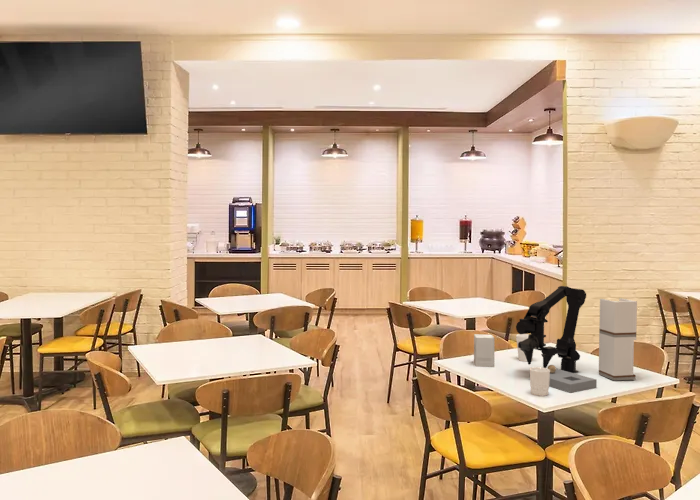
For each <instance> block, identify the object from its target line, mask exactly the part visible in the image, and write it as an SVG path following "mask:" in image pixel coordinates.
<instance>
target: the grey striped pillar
mask: <svg viewBox="0 0 700 500" xmlns="http://www.w3.org/2000/svg"><path fill="white" fill-rule="evenodd" d="M637 320H638V300H633V299H632V300H631V299H627V298H622V297H621V298H620V297H619V299H618V300H610V299H605V298H599V326H598V327H599V330H598V333H599V334H598V375H600V376H602V377H605V378H607V379H609V380H612V381H631V380H633V381H634V380H636V378H637V377H636V374H634V363H635V362H634V358H635V357H634V356H635V355H634V354H635V353H634V352H635V351H634V350H635V348H634V347H635V341H637V328H638V327H637V325H638V324H637V323H638V322H637Z"/></svg>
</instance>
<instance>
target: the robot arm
mask: <svg viewBox="0 0 700 500" xmlns="http://www.w3.org/2000/svg"><path fill="white" fill-rule="evenodd" d="M565 297H566V298H565ZM564 298H565V299H566V303H567V306H568V307H567V313H566V319H565V322H564V327H563V333H562V336H561V337H560V338H557V339H556V343H555V344H556V345H555V347H554V346H550V345H549V346H547V345H546V343H545V338H547V335H546V334H545V323H548V322H549V321H548V320H547V318H546V317H547V316H548V315H549V313H550V311H551V308H552V307H554V306H555V305H556V304H558V303H559V302H561V300H563V299H564ZM586 298H587V293H586V290H584V289H582V288H573V287H569V286H565V285H559V286H558V287H557V288H556V289H555V290H553V292H552V293H550V294H549V295H548V296H547V297H545V298H544V299H543V300H540V301H537V302H534V303H532V304H531V305H530V306H529V307H528V309H527V311H526V313H525V316H524V317H523V318H519V320H518V322H517V323H516V325H515V329H516V333H518V334H529V335H528V339H525V340H524V341H520V342H519V343H518V348H521V349H520V350H522V351H523V352H524V353H525V356H526V359H527V362H526V363H527V365H531V363H532V361H533V357H532V355H533V356H534V350H537V351H540V352H541V357H542V368H548V366H549V363H550V362H551V359H552V358H553V357H554V356H555V355H557V357H558V358H561V361H560V370H564V371H567V372H571V373H574V374H577V373H579V370H577V368H576V367H577V361H580V358H581V355H580V354H579V352H578V351H577V343H576V341H575V334H576V328H577V323H578V318H579V313H580V309H581V307H583V305H584V304H585V302H586ZM533 349H534V350H533ZM531 360H532V361H531Z"/></svg>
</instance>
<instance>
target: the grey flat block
mask: <svg viewBox="0 0 700 500" xmlns="http://www.w3.org/2000/svg"><path fill="white" fill-rule="evenodd" d="M560 369H561V368H560ZM560 369H559V368H556V371H555V372H554V373H550V381H549V388H553V389H557V390H559V391H563V392H566V393H570V394H572V393H575V392H580V391H586V390H587V391H588V390H591V389H597V386H598V385H597V383H598V382H597V379H596V378H592V377H589V376H585V375H582V374H577V373H571V372H567V371H564V370H560Z"/></svg>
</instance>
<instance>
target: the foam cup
mask: <svg viewBox="0 0 700 500" xmlns="http://www.w3.org/2000/svg"><path fill="white" fill-rule="evenodd" d="M529 334H530V333H528V334H519V333H518V334H516V335H515V337H516V338H515V340H516V346H517V347H516V349H517V354H518V355H517V356H518V360H519V361H520V362H524V363H528V362H527V359H526V356H525V353H524V352H523V351H522V350H520V349H521V348H518V343H519V342H520V341H524V340H525V339H528V335H529ZM534 350H535V349H533V351H534ZM533 356H534V354H533V355H532V358H533ZM532 361H533V359H532V360H531V362H532Z"/></svg>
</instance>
